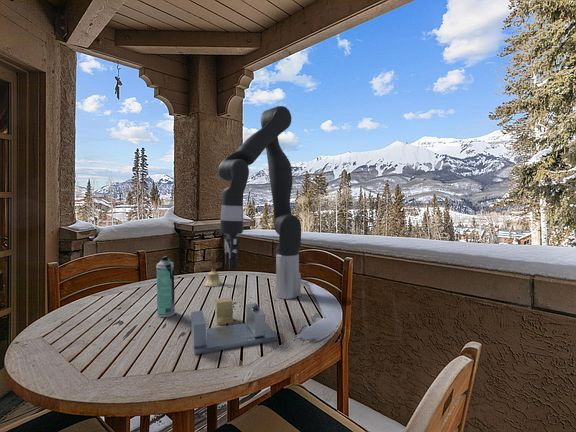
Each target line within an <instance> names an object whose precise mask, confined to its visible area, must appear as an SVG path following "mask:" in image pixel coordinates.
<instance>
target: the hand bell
mask: <svg viewBox="0 0 576 432" xmlns="http://www.w3.org/2000/svg"><path fill="white" fill-rule="evenodd" d="M210 262H211V271H210V272H208V273H207V279H206V282H205V283H204V284H203V285H204V286H205V287H208V286H209V288H212V287H214V286H216V287H219V285H220V286H222V285H223V284H222V283H223V281H222V280H221V279H220V277H219V272H217V271H216V262H217V253H216V250H211V254H210ZM221 284H222V285H221Z"/></svg>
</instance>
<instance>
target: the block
mask: <svg viewBox="0 0 576 432" xmlns="http://www.w3.org/2000/svg"><path fill="white" fill-rule="evenodd" d="M233 302H234V301H233V299H232V297H230V296H229V297H221V298H220V297H219V298H214V312H215V313H214V314H215V315H214V319H215V322H216V325H217V326H219V325H224V324H231V323H232V324H233V323H234V314H233V313H234V308H233V307H234V304H233Z"/></svg>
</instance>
